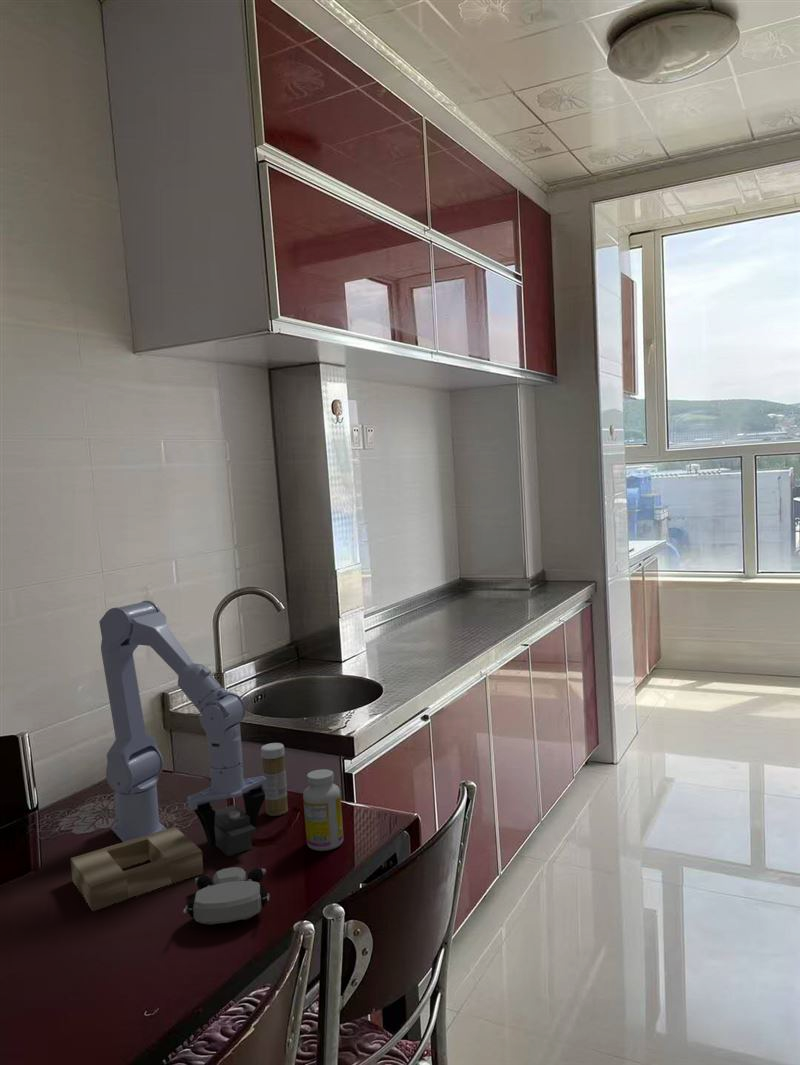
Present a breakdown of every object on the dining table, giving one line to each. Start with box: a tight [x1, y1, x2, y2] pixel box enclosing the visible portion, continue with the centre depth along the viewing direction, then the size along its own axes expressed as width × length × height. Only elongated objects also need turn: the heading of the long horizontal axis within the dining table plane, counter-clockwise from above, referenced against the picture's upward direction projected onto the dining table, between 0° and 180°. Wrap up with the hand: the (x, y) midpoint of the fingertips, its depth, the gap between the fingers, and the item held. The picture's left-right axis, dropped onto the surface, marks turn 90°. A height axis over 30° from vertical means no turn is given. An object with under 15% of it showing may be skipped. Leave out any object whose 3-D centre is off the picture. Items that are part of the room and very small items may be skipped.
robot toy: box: [182, 866, 271, 926], centre depth 121 cm, size 12×4×15 cm
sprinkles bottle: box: [260, 742, 289, 817], centre depth 156 cm, size 5×5×14 cm
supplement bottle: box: [302, 768, 344, 852], centre depth 141 cm, size 7×7×13 cm
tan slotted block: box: [70, 826, 204, 912], centre depth 132 cm, size 13×18×4 cm
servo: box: [214, 804, 257, 857], centre depth 142 cm, size 12×4×7 cm, turn 36°
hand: (231, 837), depth 142 cm, fingers open, 7 cm apart
